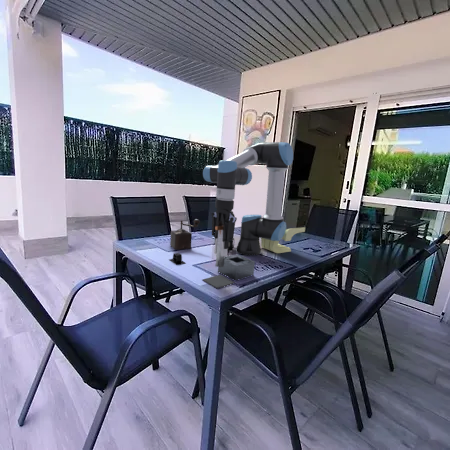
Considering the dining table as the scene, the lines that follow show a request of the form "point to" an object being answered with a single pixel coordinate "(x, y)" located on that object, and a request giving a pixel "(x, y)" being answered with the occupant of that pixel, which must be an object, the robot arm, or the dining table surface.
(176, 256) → the black notched block
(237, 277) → the block
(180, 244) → the manual coffee grinder
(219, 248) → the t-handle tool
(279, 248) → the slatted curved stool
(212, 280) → the rubber mat
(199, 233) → the dining table surface
